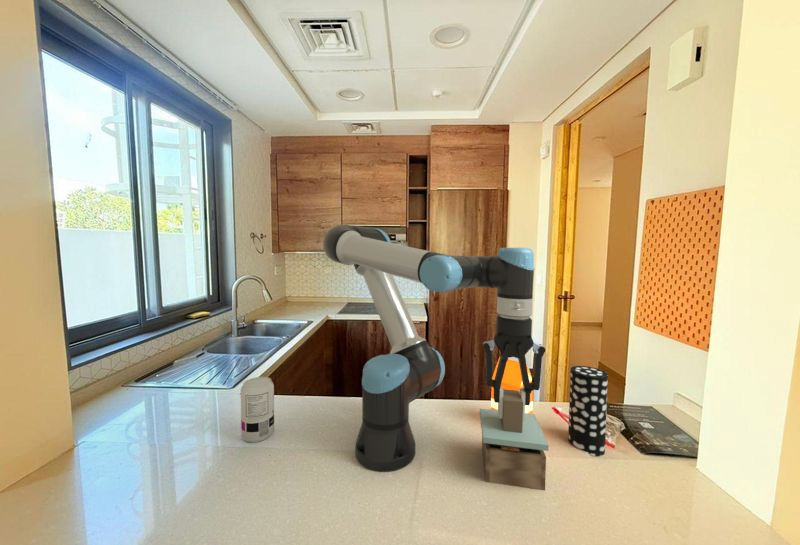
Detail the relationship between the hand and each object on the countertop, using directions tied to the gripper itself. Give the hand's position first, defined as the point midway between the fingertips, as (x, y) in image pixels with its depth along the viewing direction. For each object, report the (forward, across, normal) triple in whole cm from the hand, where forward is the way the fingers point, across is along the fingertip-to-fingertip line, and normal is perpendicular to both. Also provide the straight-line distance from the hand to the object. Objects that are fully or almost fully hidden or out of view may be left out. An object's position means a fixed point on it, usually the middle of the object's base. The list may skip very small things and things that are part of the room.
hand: (510, 416), depth 72 cm
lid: (+3, 0, 0) cm, 3 cm away
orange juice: (+13, +3, +19) cm, 23 cm away
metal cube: (+12, 0, 0) cm, 12 cm away
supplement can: (+13, -66, +1) cm, 67 cm away
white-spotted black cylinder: (+13, +21, +14) cm, 28 cm away
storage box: (+13, 0, 0) cm, 13 cm away
